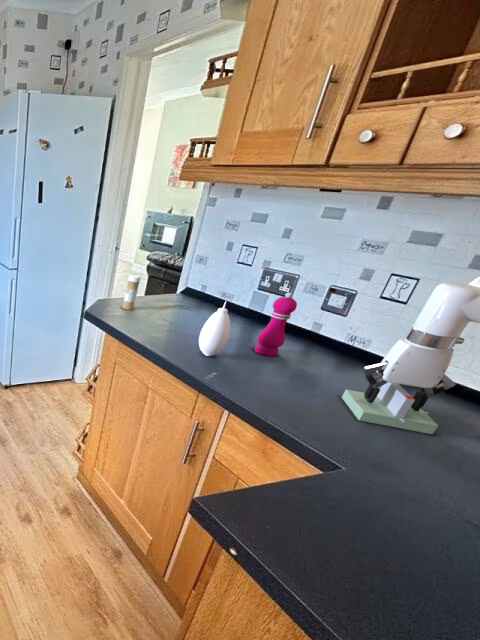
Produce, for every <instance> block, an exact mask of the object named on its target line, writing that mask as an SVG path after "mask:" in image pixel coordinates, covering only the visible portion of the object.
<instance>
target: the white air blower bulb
mask: <svg viewBox="0 0 480 640" xmlns="http://www.w3.org/2000/svg"><path fill="white" fill-rule="evenodd" d="M226 305H227V300H225V302H224V304H223V306H222V307H219V308H218V309H217V311H215V312H213V313H212V314H211V315H210V316H209V318H208V319H207V320H206V321H205V323H204V325H203V326H202V328H201V330H200V333H199V335H198V347H199V350H200V351H201V352H202V354H203V355H205V356H207V357H213V356H215V355H218V354H220V352H221V351H222V350H224V349H225V347H226V345H227V344H228V341H229V338H230V334H231V321H230V320H231V319H230V315H229V313H228V312H229V311H228V309H227V308H226Z"/></svg>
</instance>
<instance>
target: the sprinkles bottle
mask: <svg viewBox="0 0 480 640" xmlns="http://www.w3.org/2000/svg"><path fill="white" fill-rule="evenodd" d="M141 278H142V277H141V275H138V274H129V276H128V278H127V285H126V290H125V294H124V299H123V303H122V308H123V309H124V310H134V309H135V307H134V306H135V302H136V298H137V295H138V290H139V286H140V282H141Z"/></svg>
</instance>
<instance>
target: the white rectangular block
mask: <svg viewBox="0 0 480 640" xmlns="http://www.w3.org/2000/svg"><path fill="white" fill-rule="evenodd" d="M379 389H380V392H379V393H378V395H377V397H378V398H379V399H380V400H381V401H382V402H383V403H384V405H385V406H386V407H387V408H388V409H389V410H390V411H391V412H392V414H393V415H394V416H395V417H401V418H404V416H405V415H406V413H407V412H408V410H409V409H410V407H411V406H412V404H413V402H414V401H415V400H414V398H413V397H414V396H411V395H410V394H409V392H407V390H406V389H404V387H402V386H401V384H397V383H391V382H388V383H386V384H384V385H383V386H381V387H379Z"/></svg>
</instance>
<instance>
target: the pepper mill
mask: <svg viewBox="0 0 480 640" xmlns="http://www.w3.org/2000/svg"><path fill="white" fill-rule="evenodd" d="M292 297H293V293H292V292H290V291H288V292H286V293H285V294H284V296H279V297H278V298H276V299H275V300H274V301H273V303H272V308H273V310H272V311H271V314H270V316H271V318H270V321H269V322H268V323H267V325H266V326H265V327H264V328H263V329H262V330H261V331H260V332H259V334H258V335H257V337H256V338H257V339H256V340H257V344H256V345H255V347H254V351H255V352H256V353H258V354H260V355H262V356H266V357H267V356H268V357H274V356H277V355H278V353H279V350H280V349H279V348H280V347H282V346H284V344H285V341H286V334H285V326H286V324H287V322H288V320H290V319H291V316H292V313H294V312H295V311H296V309H297V306H298V302H297V301H296V300H295V298H292Z"/></svg>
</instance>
